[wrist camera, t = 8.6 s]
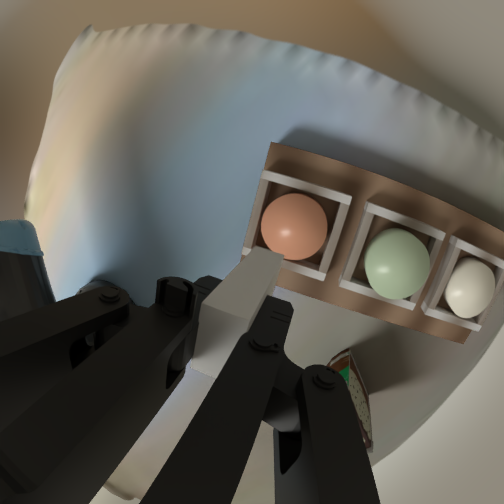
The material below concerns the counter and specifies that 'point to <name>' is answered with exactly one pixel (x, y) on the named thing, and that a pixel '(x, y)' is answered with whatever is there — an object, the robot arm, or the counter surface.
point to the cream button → (469, 287)
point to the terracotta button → (294, 226)
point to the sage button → (396, 263)
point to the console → (364, 230)
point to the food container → (355, 392)
